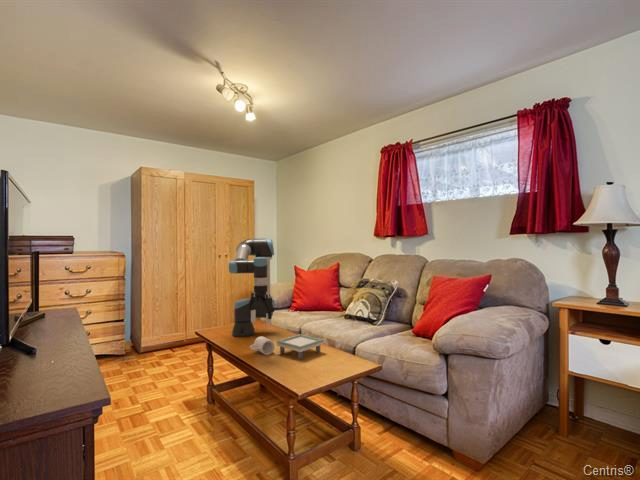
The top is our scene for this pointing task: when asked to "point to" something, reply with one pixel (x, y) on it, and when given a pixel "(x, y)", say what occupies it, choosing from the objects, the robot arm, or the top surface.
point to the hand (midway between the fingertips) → (260, 323)
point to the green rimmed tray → (299, 344)
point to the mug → (263, 345)
